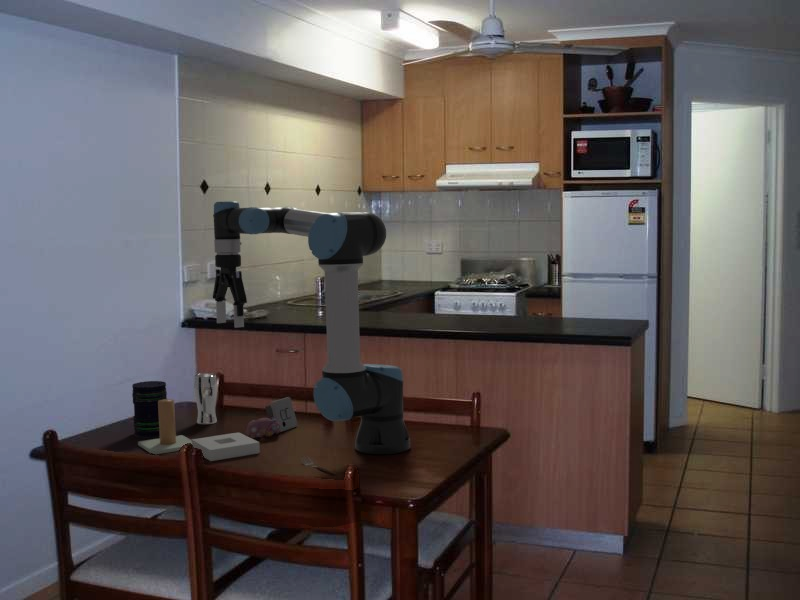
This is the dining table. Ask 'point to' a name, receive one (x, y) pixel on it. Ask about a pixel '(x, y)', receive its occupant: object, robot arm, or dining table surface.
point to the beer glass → (206, 397)
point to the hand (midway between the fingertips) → (230, 325)
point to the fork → (316, 466)
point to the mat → (158, 448)
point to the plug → (167, 421)
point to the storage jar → (147, 407)
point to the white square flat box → (226, 446)
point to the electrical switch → (282, 413)
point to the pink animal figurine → (263, 427)
